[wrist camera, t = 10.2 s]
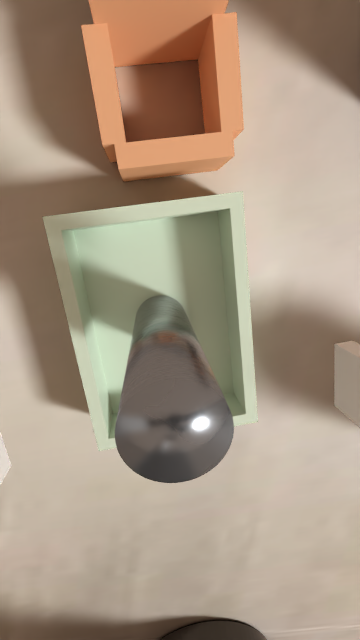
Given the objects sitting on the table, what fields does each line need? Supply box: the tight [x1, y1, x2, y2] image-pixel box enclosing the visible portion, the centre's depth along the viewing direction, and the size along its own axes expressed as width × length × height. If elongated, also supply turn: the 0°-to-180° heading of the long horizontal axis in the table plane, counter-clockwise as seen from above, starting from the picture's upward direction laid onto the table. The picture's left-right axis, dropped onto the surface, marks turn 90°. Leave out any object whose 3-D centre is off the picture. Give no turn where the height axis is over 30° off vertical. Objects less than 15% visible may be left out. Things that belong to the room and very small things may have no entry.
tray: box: [42, 191, 258, 451], centre depth 21 cm, size 15×11×4 cm
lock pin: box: [115, 295, 234, 483], centre depth 16 cm, size 4×4×13 cm
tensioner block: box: [81, 0, 244, 182], centre depth 15 cm, size 10×7×8 cm
